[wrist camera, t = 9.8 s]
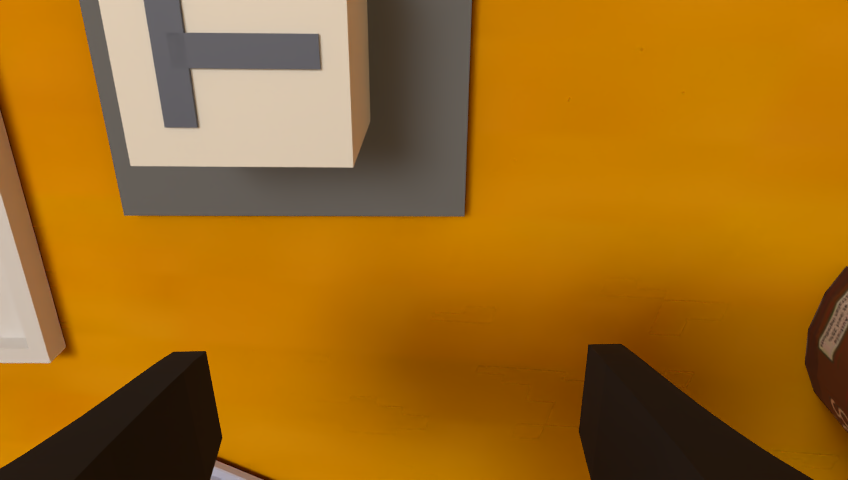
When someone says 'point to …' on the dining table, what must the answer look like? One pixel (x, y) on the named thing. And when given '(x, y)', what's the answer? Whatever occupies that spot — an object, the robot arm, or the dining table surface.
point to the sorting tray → (22, 276)
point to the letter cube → (240, 81)
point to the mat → (380, 151)
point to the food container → (831, 349)
